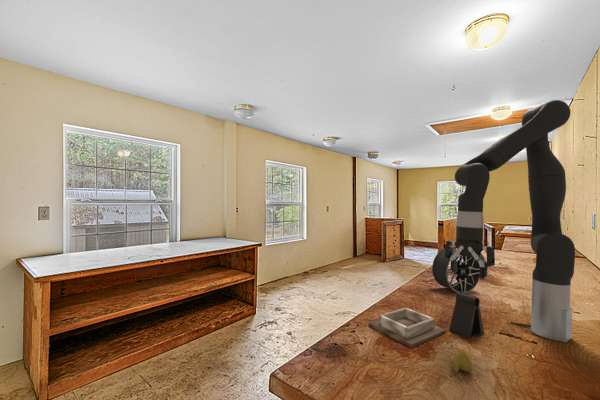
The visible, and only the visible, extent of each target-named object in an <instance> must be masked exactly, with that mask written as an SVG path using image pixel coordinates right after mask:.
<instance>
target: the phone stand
mask: <svg viewBox="0 0 600 400" xmlns="http://www.w3.org/2000/svg"><path fill="white" fill-rule="evenodd" d="M480 309H481V308H480V298H479V297H476V296H474V295H471V294H468V293H461V292H456V294H455V303H454V308H453V312H452V316H451V321H450V325H449V329H448V330H449V331H450V332H453V333H454V334H457V335H459V336H461V337H463V338H466V339H471V338H474V337H477V336H480V335H482V334H484V333H485V329H484V325H483V319H482V313H481V310H480Z"/></svg>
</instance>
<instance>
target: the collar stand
mask: <svg viewBox="0 0 600 400" xmlns="http://www.w3.org/2000/svg"><path fill="white" fill-rule="evenodd" d="M368 327H370V328H371V329H374V330H376V331H377V332H378V333H379V332H380V333H381V334H383V335H385V336H387V337H390V338H391V339H393V340H394V341H396V342H399V343H400V344H403V345H405V346H406V347H409V348H410V349H413V348H415V347H417V346H419V345H422V344H424V343H425V342H428V341H431V340H433V339H435V338H437V337H440V336H443V335H444V334H446V333H447V332H446V331H447V330H446V329H444V328H442V327H440V326H437V325H436V318H434V317H431V316H428V315H426V314H423V313H421V312H419V311H416V310H413V309H410V308H407V307H405V306H404V307H403V308H399V309H395V310H393V311H389V312H385V313H382V314H379V315H378V319H376V320H373V321H371V322H368Z"/></svg>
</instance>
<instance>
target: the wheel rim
mask: <svg viewBox="0 0 600 400" xmlns="http://www.w3.org/2000/svg"><path fill="white" fill-rule="evenodd" d="M445 249H446V247H445V248H443V249H441V250H439V251H438V253H437V254H436V255H435V257H434V259H433V262H432V265H431V267H432V269H431V270H432V276H433V279H434V280H435V282H436V283H437V284H439V286H441V287H444V288H449V289H450V290H451V291H454V292H456V293H458V292H461V293H465V294H468V293H470V292H471V291H473V290H474V289H475V287H476V286H477V285H478V283H479V281H480V280H481V279H480V278H479V276H480V267H481V266H480V264H479V263H478V261H476V260H475V258H471V257H468V256H460V257H459V258H458V259H457V261H458V266H457V272H456V273H449V272H452V270H451V269H450V268H449V265H450V264H451V261H450V259H448V258H445ZM456 251H457V248H456V247H453V251H452V256H453V254H454V253H455V252H456ZM449 276H451V279H449ZM454 279H455V280H456V282H454V283H453V281H454ZM449 280H450V281H449Z"/></svg>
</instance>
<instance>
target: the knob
mask: <svg viewBox="0 0 600 400" xmlns="http://www.w3.org/2000/svg"><path fill="white" fill-rule="evenodd" d="M456 352H457V353H456V354H455V357H454V358H453V357H449V358H448V361H449V365H451V366H450V367H451V368H452V370H453V369H454V370H455V371H456V372H455V371H454V370H453V371H454V372H455V373H458V372H459V371H460V370H462V371H464V372H466V373H469V374H473V373H474V364H473V362H472V360H471V358H470V356H469V355H468V354H467V353H466V352H465V351H464V350H462V349H458V350H457V351H456Z"/></svg>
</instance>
